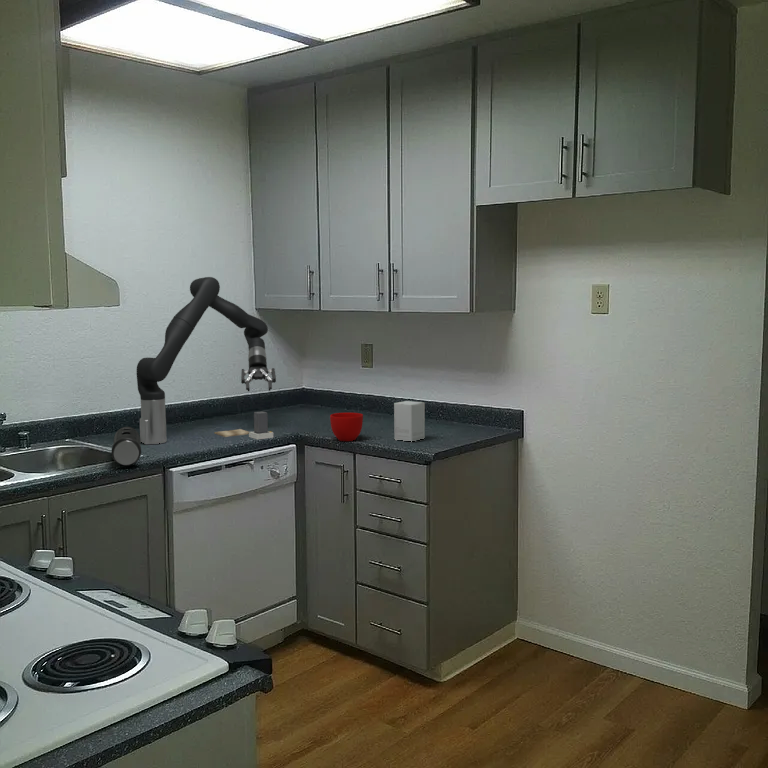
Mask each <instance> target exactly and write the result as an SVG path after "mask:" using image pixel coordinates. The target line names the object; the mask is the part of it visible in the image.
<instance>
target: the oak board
mask: <svg viewBox="0 0 768 768" xmlns="http://www.w3.org/2000/svg"><path fill="white" fill-rule="evenodd" d="M249 432H250V431H248V430H246V429H245V430H244V429H242V428H239V429H230V430H221V431H215V432H213V433H214V434H215V435H218V436H220V437H223V438H228V437H236V436H245V435H249Z"/></svg>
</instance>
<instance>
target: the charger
mask: <svg viewBox="0 0 768 768" xmlns="http://www.w3.org/2000/svg"><path fill="white" fill-rule="evenodd" d="M268 423H269V421H268V412H266V411H254V412H253V431H254V433H257V434H262V433H268V431H269V430H268V427H269V426H268V425H269V424H268Z"/></svg>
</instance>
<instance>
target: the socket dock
mask: <svg viewBox="0 0 768 768" xmlns="http://www.w3.org/2000/svg"><path fill="white" fill-rule="evenodd" d="M248 432H249V434H248V437H249V438H251V439H254V440H264V439H266V440H267V439H272V438H273V439H274V432H273V431H272V430H271V431H269V430H268V433H262V434H257V433H254V430H253V431H248Z"/></svg>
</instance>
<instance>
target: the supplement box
mask: <svg viewBox="0 0 768 768" xmlns="http://www.w3.org/2000/svg"><path fill="white" fill-rule="evenodd" d="M425 405H426V404H425V402H423V401H422V402H421V401H413V400H412V401H411V400H404V401H399V402H394V403H393V411H394V412H393V413H394V415H393V416H394V417H393V420H394V421H393V423H394V426H393V428H394V432H393V434H394V439H395V440H394V439H393V440H394V441H397V440H403V441H402V442H404V441H411V442H410V443H413V442H412V441H415V442H417V441H416V440H420V439H424V438H425V437H426V435H425V434H426V432H425V430H426V429H425V428H426V427H425V425H426V424H425V422H426V421H425V418H426V416H425V415H426V414H425V412H426V411H425V410H426V409H425ZM425 439H426V438H425ZM425 439H424V440H425ZM420 441H421V440H420Z"/></svg>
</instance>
